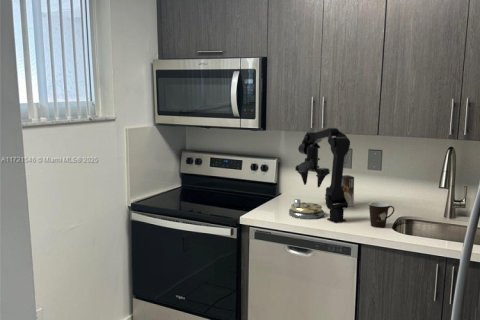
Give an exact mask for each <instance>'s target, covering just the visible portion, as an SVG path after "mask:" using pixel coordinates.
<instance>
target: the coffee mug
mask: <svg viewBox="0 0 480 320" xmlns="http://www.w3.org/2000/svg"><path fill="white" fill-rule="evenodd" d="M368 207H369V219H370V226H371V227H373V228H376V229H383V228H386V225H387V220H388V219H389V218H390V217H391V216H393V214H394V213H395V207H394V206H392V205H390V204H389V203H386V202H381V201H380V202H379V201H373V202H369V203H368ZM390 208H392V211H391V213H389V209H390ZM388 214H389V215H388Z"/></svg>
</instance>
